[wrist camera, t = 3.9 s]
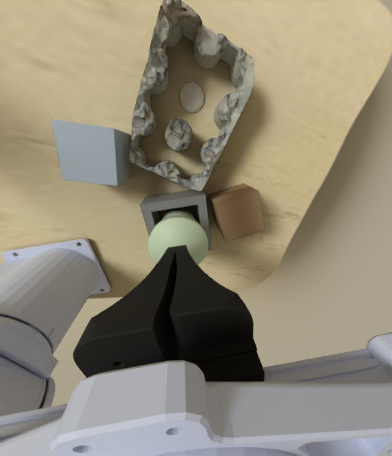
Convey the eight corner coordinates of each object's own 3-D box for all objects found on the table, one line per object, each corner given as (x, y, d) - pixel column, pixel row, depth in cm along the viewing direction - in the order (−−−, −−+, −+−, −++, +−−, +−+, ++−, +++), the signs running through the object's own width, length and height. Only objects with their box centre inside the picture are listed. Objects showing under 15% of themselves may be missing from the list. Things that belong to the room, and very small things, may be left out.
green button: (160, 248, 18) (155, 275, 14) (150, 206, 16) (140, 224, 12) (204, 241, 18) (211, 266, 14) (198, 199, 16) (204, 214, 12)
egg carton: (170, 21, 13) (166, -34, 9) (249, 79, 15) (273, 54, 11) (128, 157, 16) (113, 158, 13) (196, 189, 18) (201, 198, 15)
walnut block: (217, 225, 20) (225, 242, 17) (208, 194, 18) (215, 205, 15) (249, 215, 20) (264, 229, 16) (243, 183, 18) (258, 191, 15)
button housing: (158, 244, 20) (155, 259, 18) (145, 196, 18) (140, 204, 15) (207, 236, 21) (211, 249, 18) (201, 188, 18) (205, 194, 15)
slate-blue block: (88, 173, 16) (62, 179, 13) (82, 126, 15) (51, 119, 11) (130, 178, 17) (117, 185, 13) (129, 133, 15) (113, 128, 12)
